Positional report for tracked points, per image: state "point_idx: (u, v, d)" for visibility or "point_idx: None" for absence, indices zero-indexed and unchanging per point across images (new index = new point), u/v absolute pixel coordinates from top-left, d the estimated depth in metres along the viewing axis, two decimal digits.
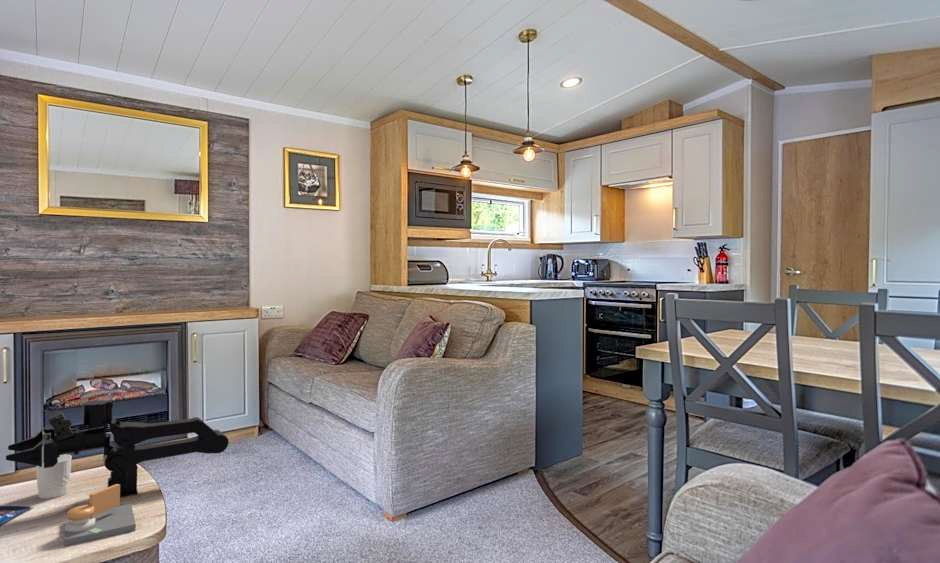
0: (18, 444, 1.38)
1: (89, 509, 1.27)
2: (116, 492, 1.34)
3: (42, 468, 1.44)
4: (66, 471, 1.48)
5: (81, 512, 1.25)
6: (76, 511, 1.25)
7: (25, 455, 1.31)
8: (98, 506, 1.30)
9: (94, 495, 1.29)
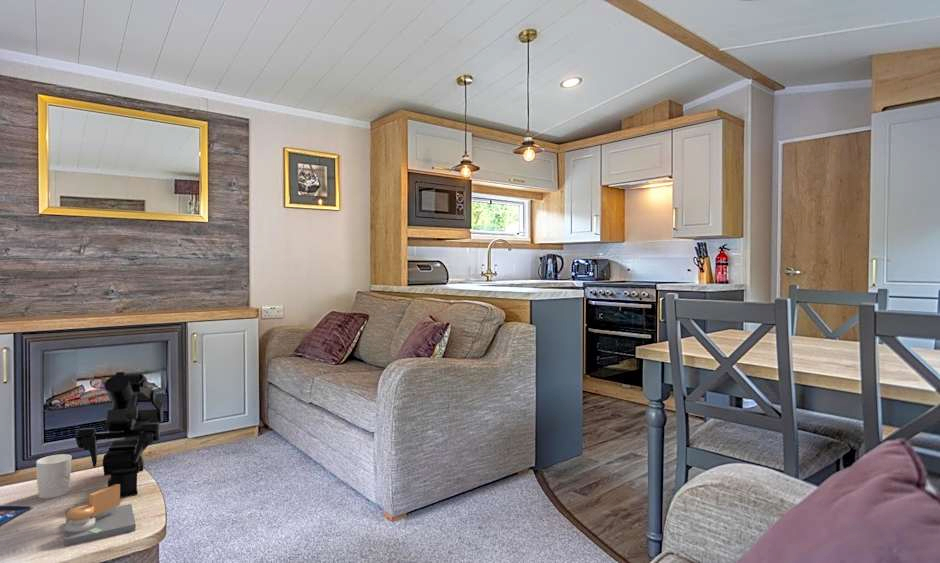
0: (95, 458, 1.36)
1: (89, 509, 1.27)
2: (116, 492, 1.34)
3: (42, 468, 1.44)
4: (66, 471, 1.48)
5: (81, 512, 1.25)
6: (76, 511, 1.25)
7: (141, 448, 1.41)
8: (98, 506, 1.30)
9: (94, 495, 1.29)
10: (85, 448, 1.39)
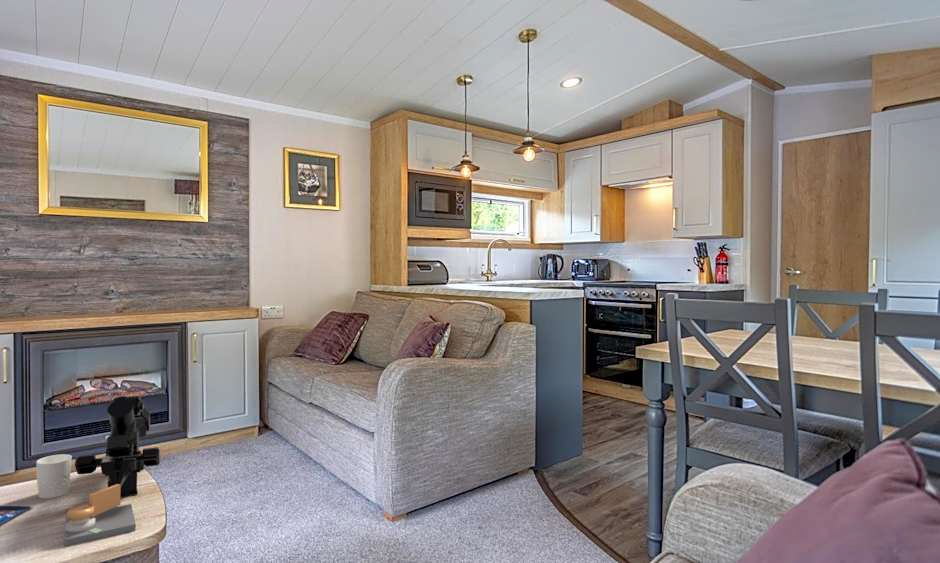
0: (115, 482, 1.36)
1: (89, 509, 1.27)
2: (116, 492, 1.34)
3: (42, 468, 1.44)
4: (66, 471, 1.48)
5: (81, 513, 1.25)
6: (76, 511, 1.25)
7: (124, 476, 1.38)
8: (98, 506, 1.30)
9: (94, 495, 1.29)
10: (104, 472, 1.39)
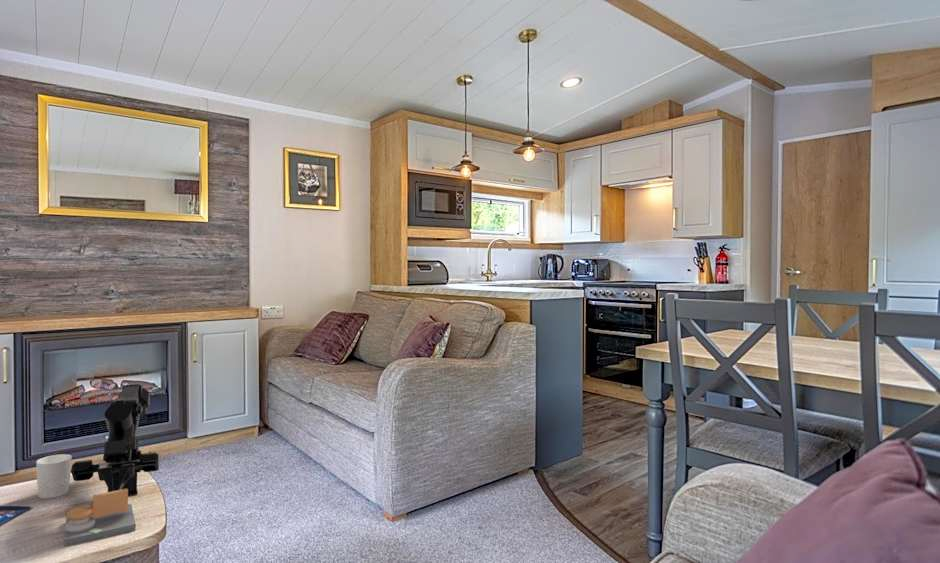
0: (112, 489, 1.32)
1: (86, 511, 1.26)
2: (122, 497, 1.31)
3: (42, 468, 1.44)
4: (66, 471, 1.48)
5: (75, 513, 1.24)
6: (75, 510, 1.26)
7: (122, 482, 1.34)
8: (100, 509, 1.28)
9: (95, 497, 1.28)
10: (101, 479, 1.35)
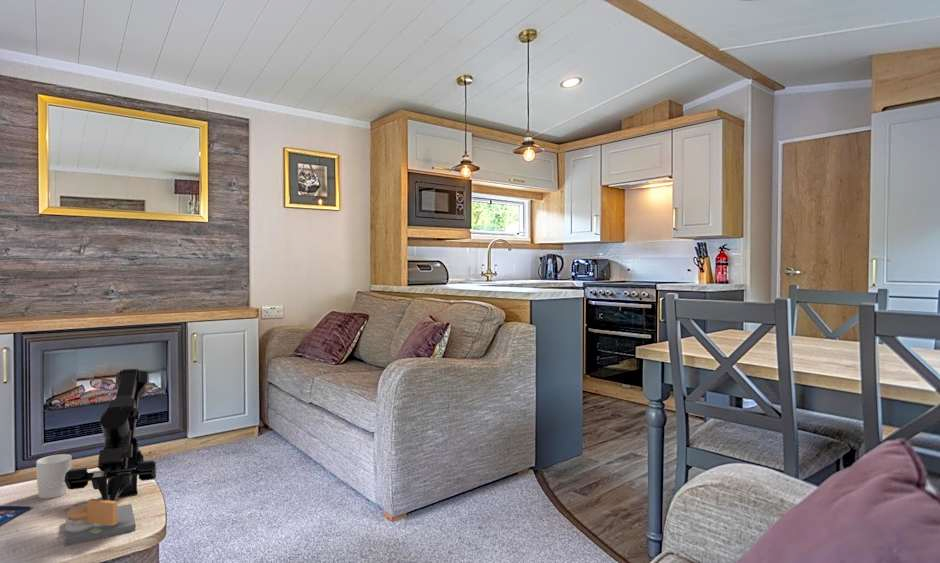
0: (106, 499, 1.27)
1: (78, 513, 1.24)
2: (109, 509, 1.24)
3: (42, 468, 1.44)
4: (66, 471, 1.48)
5: (69, 512, 1.25)
6: (77, 509, 1.26)
7: (118, 491, 1.29)
8: (92, 515, 1.25)
9: (89, 501, 1.25)
10: (95, 487, 1.30)
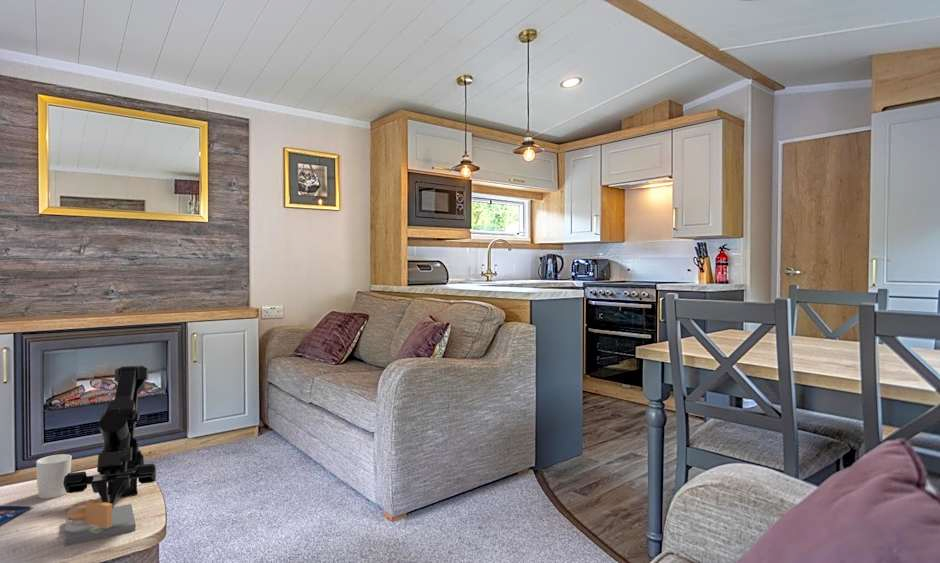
0: None
1: (76, 513, 1.24)
2: (103, 512, 1.23)
3: (42, 468, 1.44)
4: (66, 471, 1.48)
5: (69, 512, 1.25)
6: (77, 509, 1.27)
7: (117, 495, 1.28)
8: (90, 516, 1.24)
9: (87, 502, 1.25)
10: (95, 491, 1.29)
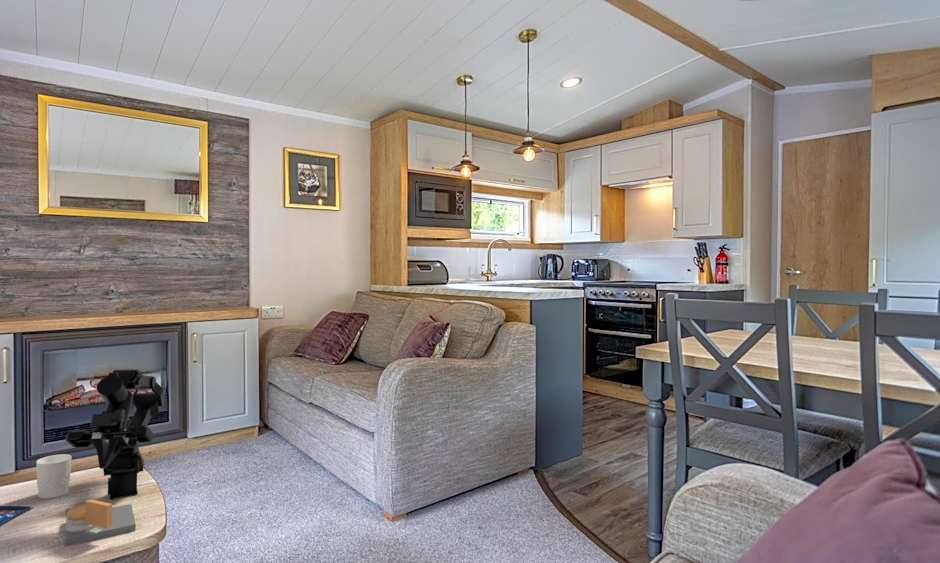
0: (102, 459, 1.35)
1: (76, 513, 1.24)
2: (103, 512, 1.23)
3: (42, 468, 1.44)
4: (66, 471, 1.48)
5: (69, 512, 1.25)
6: (78, 509, 1.27)
7: (112, 453, 1.37)
8: (90, 516, 1.24)
9: (87, 502, 1.25)
10: None
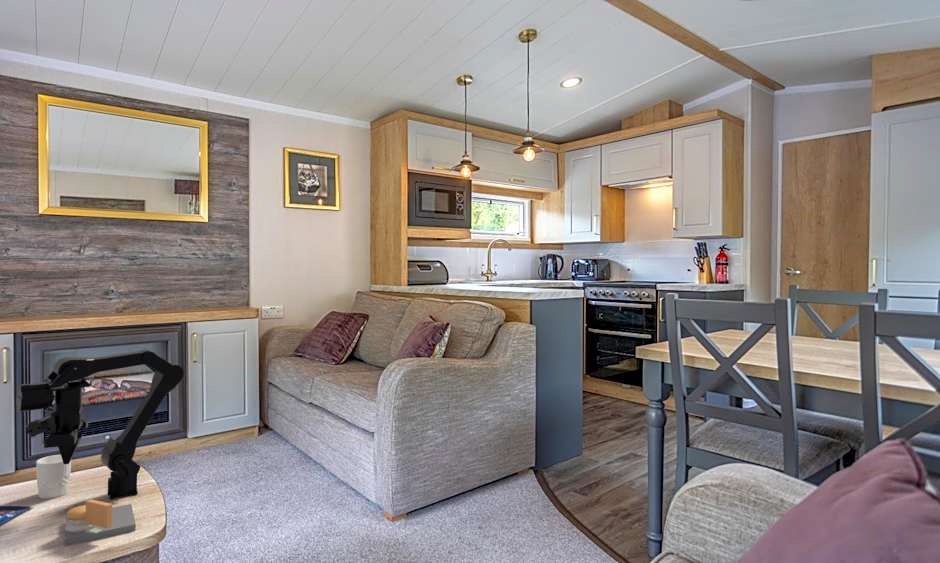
0: None
1: (76, 513, 1.24)
2: (103, 512, 1.23)
3: (42, 468, 1.44)
4: (66, 471, 1.48)
5: (69, 512, 1.25)
6: (78, 509, 1.27)
7: (65, 451, 1.38)
8: (90, 516, 1.24)
9: (87, 502, 1.25)
10: None
